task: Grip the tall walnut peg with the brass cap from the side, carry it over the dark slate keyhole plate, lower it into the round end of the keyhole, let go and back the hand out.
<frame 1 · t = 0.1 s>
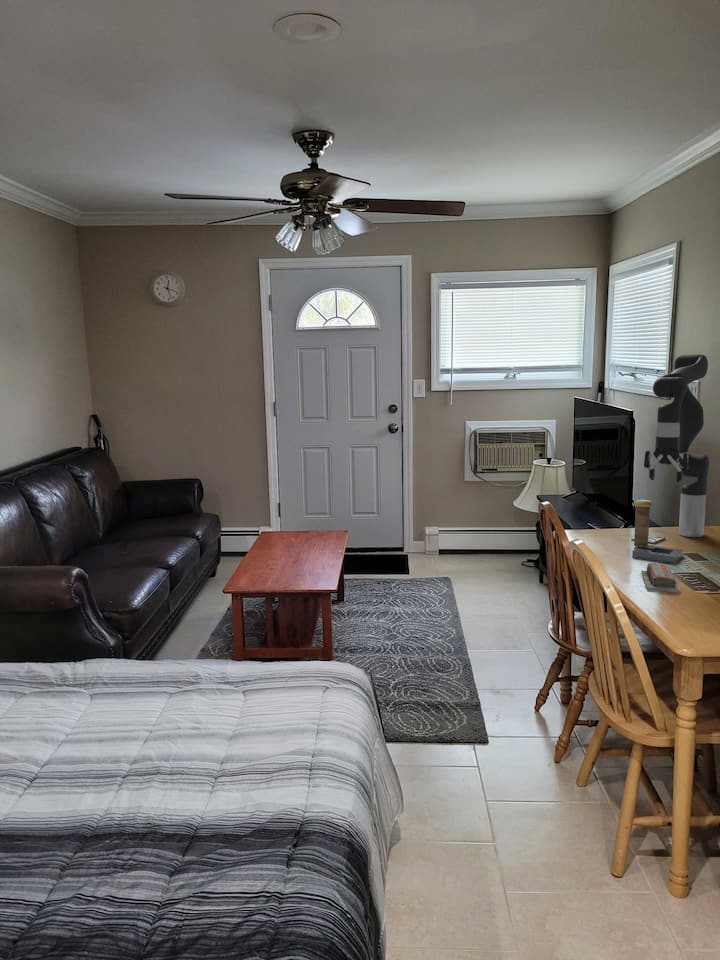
hand: (665, 480, 240), 29 cm above the table, tool pointing down, fingers open, 8 cm apart
packaged product: (659, 584, 222), on the table
keyhole plate: (661, 557, 249), on the table
walnut peg: (641, 545, 266), on the table
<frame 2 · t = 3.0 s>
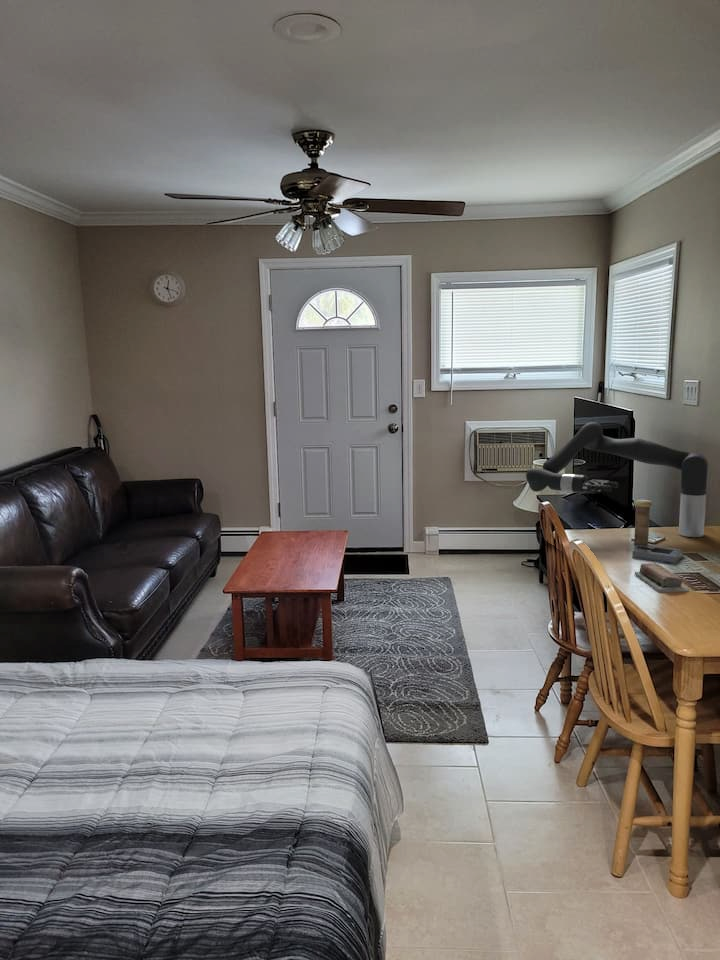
hand: (614, 487, 269), 22 cm above the table, tool horizontal, fingers open, 8 cm apart
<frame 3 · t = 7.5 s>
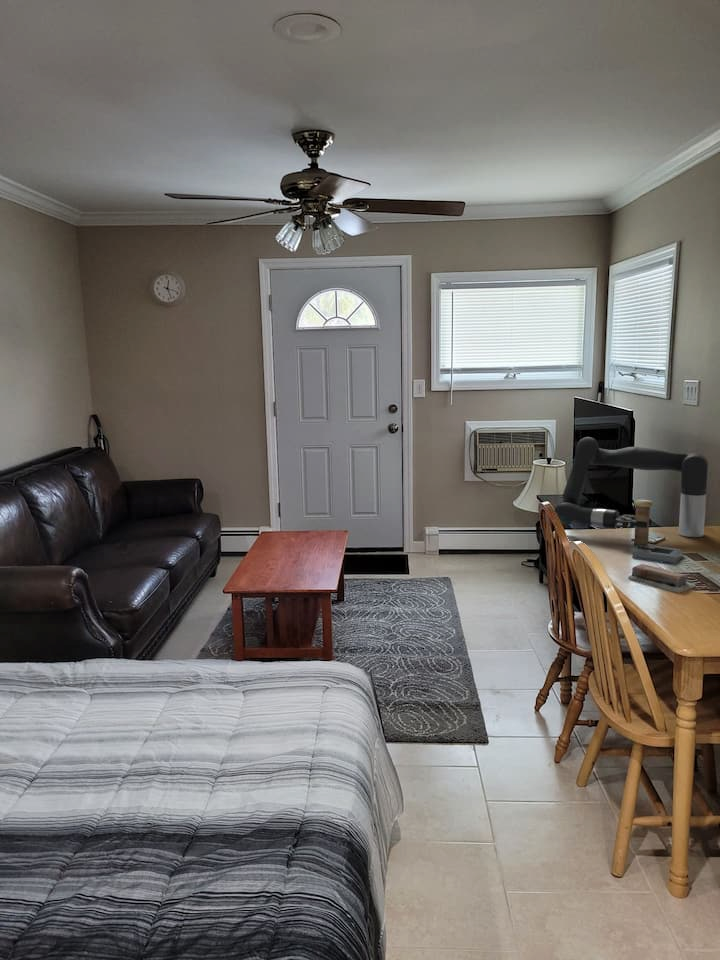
hand: (649, 523, 263), 9 cm above the table, tool horizontal, fingers closed on walnut peg, 5 cm apart
walnut peg: (641, 545, 266), on the table, touching gripper
when the fingers open (10 cm above the table, at t = 13.7 s): walnut peg drops 1 cm, resting in keyhole plate.
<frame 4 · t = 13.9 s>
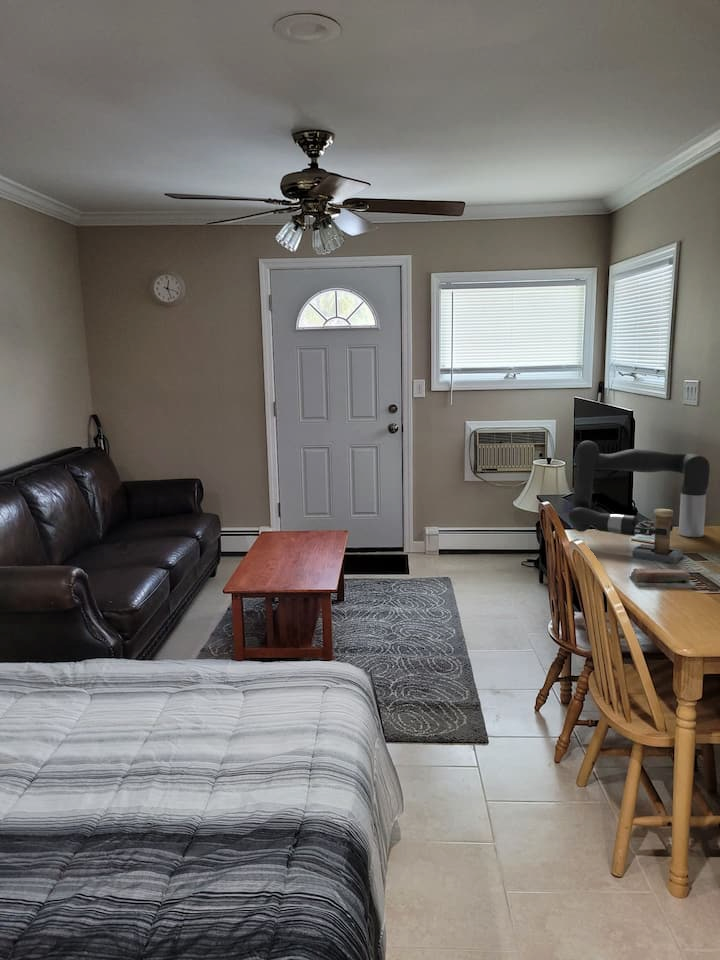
hand: (669, 530, 246), 10 cm above the table, tool horizontal, fingers open, 7 cm apart
walnut peg: (661, 557, 249), resting in keyhole plate
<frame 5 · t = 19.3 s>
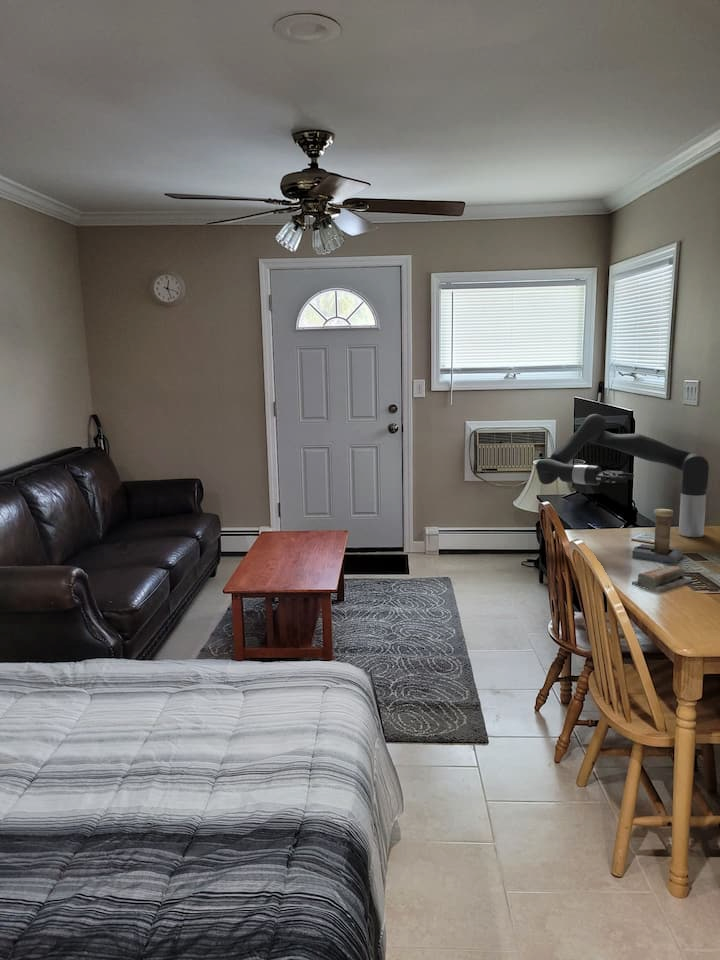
hand: (629, 478, 254), 28 cm above the table, tool horizontal, fingers open, 8 cm apart
at the end: walnut peg 0.1 cm off-centre on the keyhole plate, point 0.0 cm above the keyhole plate's base; walnut peg tilted 0°; the gripper is holding nothing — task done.
